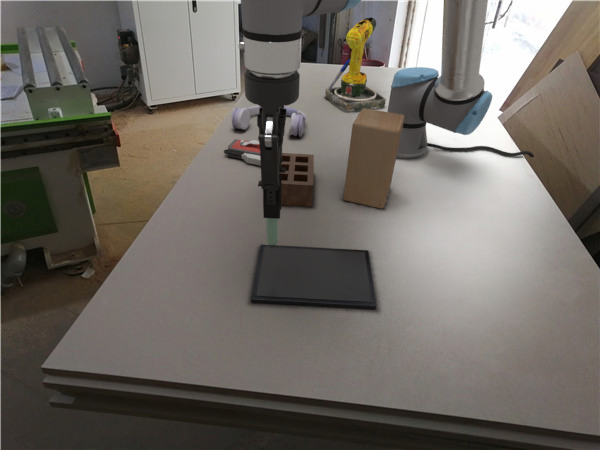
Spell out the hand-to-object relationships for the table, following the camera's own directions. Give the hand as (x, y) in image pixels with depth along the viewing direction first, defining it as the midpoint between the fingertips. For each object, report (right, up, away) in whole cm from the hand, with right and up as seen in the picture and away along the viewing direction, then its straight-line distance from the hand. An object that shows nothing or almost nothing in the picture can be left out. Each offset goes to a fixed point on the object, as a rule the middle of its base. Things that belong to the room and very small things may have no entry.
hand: (272, 212), depth 68 cm
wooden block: (+21, +5, +33) cm, 39 cm away
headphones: (-4, +31, +65) cm, 72 cm away
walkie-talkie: (-7, +16, +45) cm, 49 cm away
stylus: (0, -6, +4) cm, 7 cm away
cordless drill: (+26, +45, +85) cm, 100 cm away
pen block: (+2, +7, +33) cm, 34 cm away
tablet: (+7, -12, +9) cm, 16 cm away
